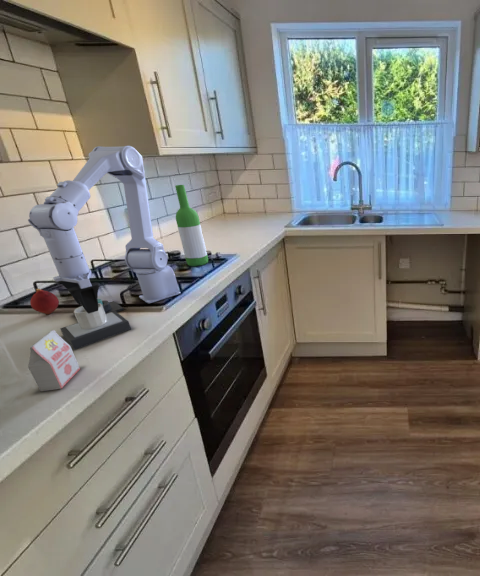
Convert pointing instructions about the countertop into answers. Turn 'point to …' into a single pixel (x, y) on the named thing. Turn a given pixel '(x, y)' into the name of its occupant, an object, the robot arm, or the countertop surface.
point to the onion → (44, 301)
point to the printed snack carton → (52, 362)
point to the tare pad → (110, 307)
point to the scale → (95, 331)
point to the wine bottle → (190, 231)
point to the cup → (90, 317)
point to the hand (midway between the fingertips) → (88, 307)
